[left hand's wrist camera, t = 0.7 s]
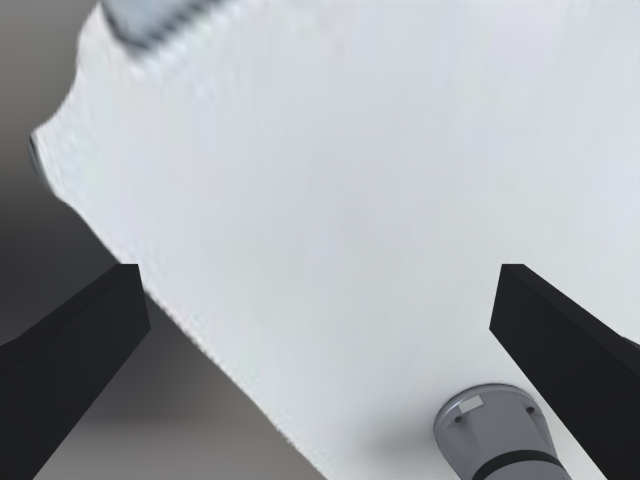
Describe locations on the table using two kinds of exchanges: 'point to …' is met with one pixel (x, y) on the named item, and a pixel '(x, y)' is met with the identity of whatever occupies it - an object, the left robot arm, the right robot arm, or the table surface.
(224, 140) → the table surface
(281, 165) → the table surface
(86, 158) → the table surface
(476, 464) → the left robot arm
